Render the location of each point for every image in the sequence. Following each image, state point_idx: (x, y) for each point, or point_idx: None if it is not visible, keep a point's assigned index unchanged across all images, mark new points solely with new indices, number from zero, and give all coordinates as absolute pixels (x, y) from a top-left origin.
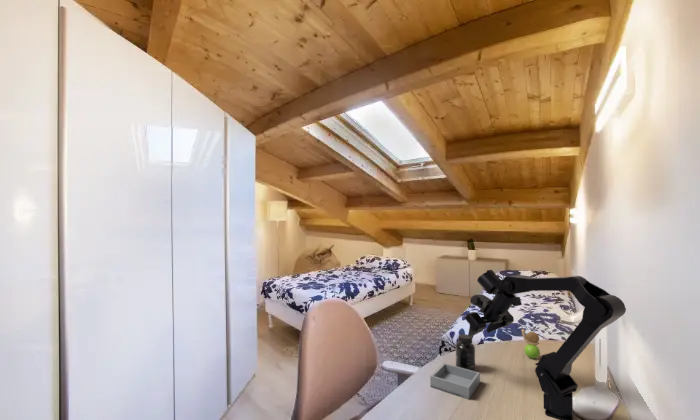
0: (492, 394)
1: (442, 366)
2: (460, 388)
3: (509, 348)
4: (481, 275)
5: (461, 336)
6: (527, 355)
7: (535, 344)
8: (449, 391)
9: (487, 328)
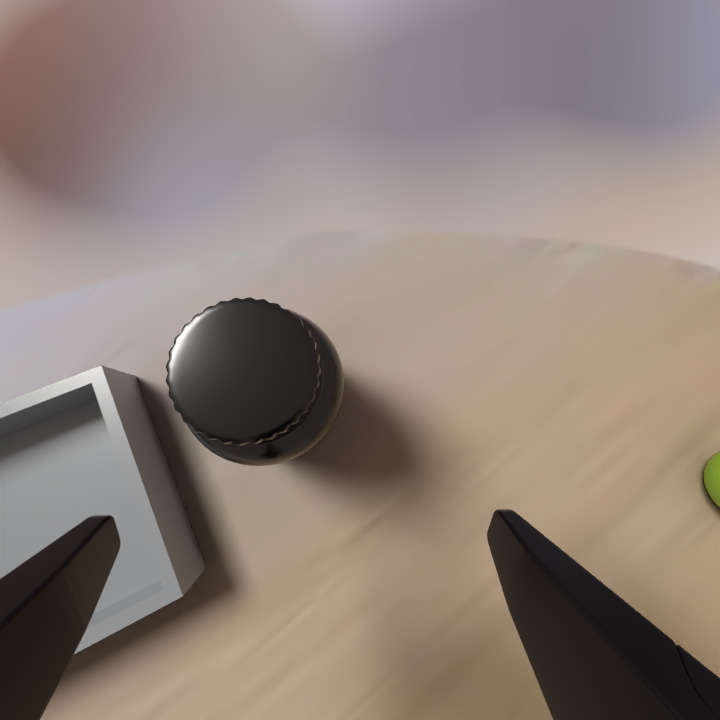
0: (151, 706)
1: (41, 400)
2: None
3: (693, 342)
4: None
5: (204, 347)
6: (706, 474)
7: None
8: None
9: (519, 547)
